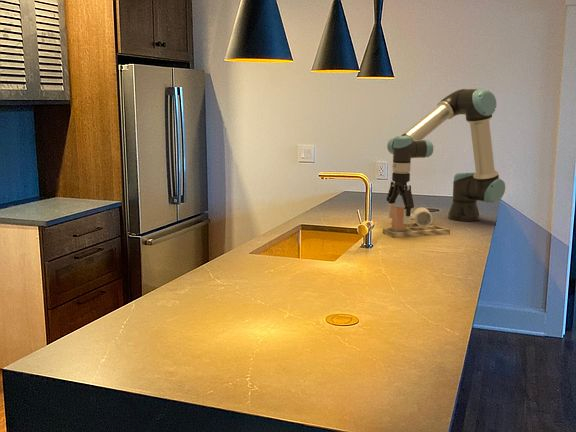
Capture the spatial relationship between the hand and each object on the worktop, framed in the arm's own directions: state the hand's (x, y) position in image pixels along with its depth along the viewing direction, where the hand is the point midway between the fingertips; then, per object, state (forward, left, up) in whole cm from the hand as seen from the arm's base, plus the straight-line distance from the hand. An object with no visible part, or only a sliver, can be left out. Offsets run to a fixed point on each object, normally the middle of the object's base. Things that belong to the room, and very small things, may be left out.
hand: (399, 220), depth 286 cm
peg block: (0, 0, -6) cm, 6 cm away
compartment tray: (-9, 0, -6) cm, 11 cm away
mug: (-19, -16, -7) cm, 26 cm away
